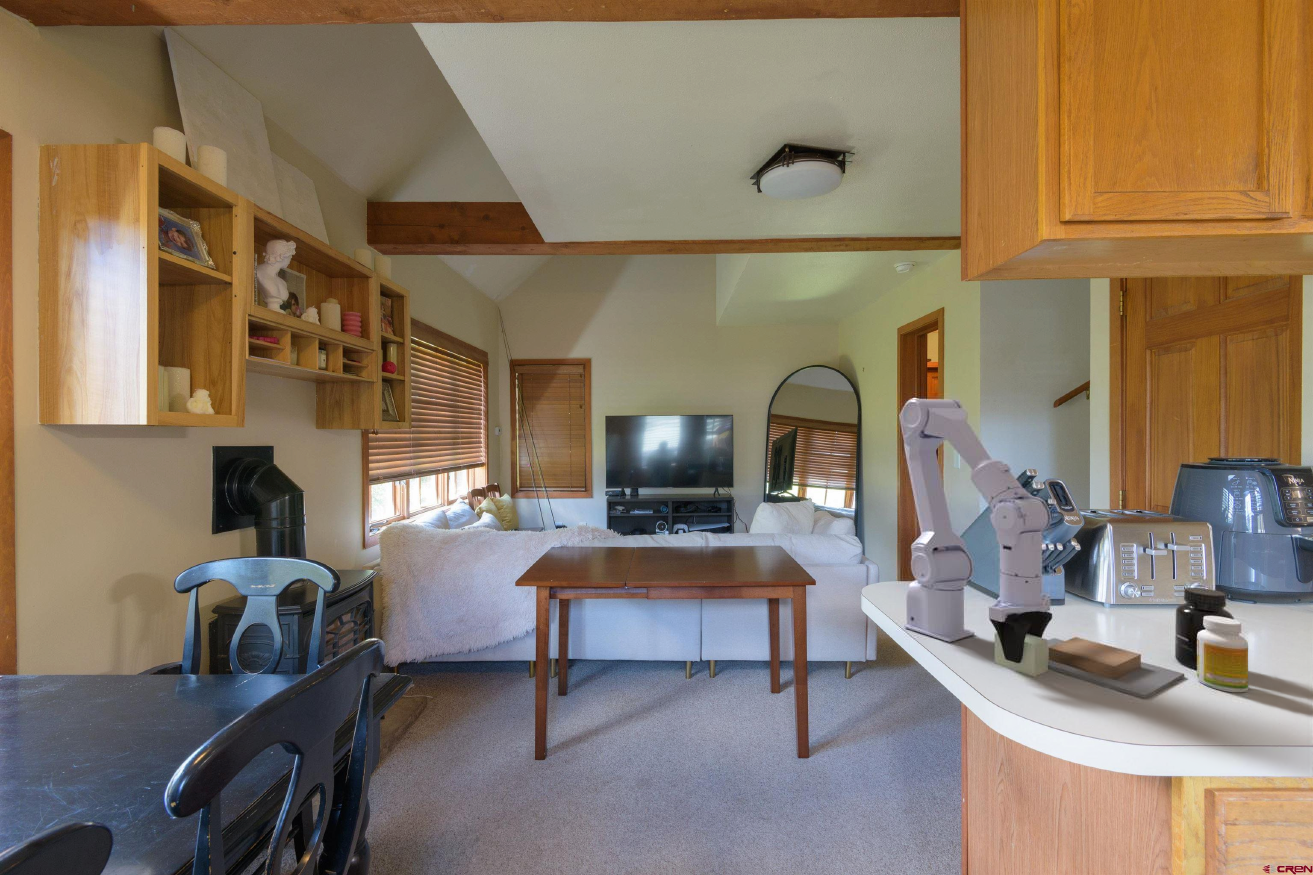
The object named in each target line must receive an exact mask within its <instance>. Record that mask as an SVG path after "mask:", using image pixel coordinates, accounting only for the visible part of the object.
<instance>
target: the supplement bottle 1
mask: <svg viewBox="0 0 1313 875" xmlns="http://www.w3.org/2000/svg"><path fill="white" fill-rule="evenodd" d="M1183 594H1184V595H1183V600H1184V601H1185V603H1182V604H1180V605H1178V606H1177V607H1176V609H1175V625H1174V626H1175V630H1174V631H1175V636H1174V639H1175V640H1174V641H1175V643H1174V646H1175V647H1174V652H1175V654H1174V656H1175V660H1176V661H1177V662H1178V664H1181V665H1183V666H1185V667H1187V668H1190V669H1193V670H1195V671H1197V634H1198V632H1200V631H1202V630H1206V628H1205V627H1204V625H1203V618H1204V616H1219V617H1225V618H1230V619H1233V620H1235V617H1234V615H1233V614H1232V613H1231V612H1229V611H1228V610H1226V609H1225V607H1227V602H1226V600H1227V599H1226V596H1227V595H1226V594H1225V593H1224V592H1222V591H1218V590H1215V589H1210V588H1203V587H1186V588H1184V590H1183Z"/></svg>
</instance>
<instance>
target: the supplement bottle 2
mask: <svg viewBox="0 0 1313 875" xmlns="http://www.w3.org/2000/svg"><path fill="white" fill-rule="evenodd" d="M1203 625H1204V627H1205V628H1206V630H1202V631H1200V632H1198V634H1197V670H1196V675H1197V680H1198V682H1200V684H1202V685H1203V686H1207V687H1208V688H1212V689H1215V690H1220V691H1222V692H1227V693H1246V692H1248V691H1249V644H1248V642H1249V641H1248V640H1246V638H1244V637H1243V636H1241V635H1240V634H1241V633H1242V622H1240V621H1239V620H1236V619H1234V620H1233V619H1230V618H1225V617H1219V616H1204V618H1203Z"/></svg>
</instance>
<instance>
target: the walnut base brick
mask: <svg viewBox="0 0 1313 875" xmlns="http://www.w3.org/2000/svg"><path fill="white" fill-rule="evenodd" d="M1063 641H1064V642H1061V643H1059V644H1056V645H1054V646H1051V647H1049V660H1052V661H1055V662H1058V663H1061V664H1065V665H1068V666H1071V667H1074V668H1078V669H1081V670H1084V671H1087V672H1091V673H1094V674H1097V675H1101V676H1104V677H1107V678H1110V679H1114V680H1115V679H1117V678H1120V677H1122V676H1124V675H1126V674H1128V673H1130V672H1132V671H1134V670H1136V669H1138V668H1140V667H1141V662H1142V654H1141V653H1137V652H1134V651H1130V650H1126V649H1123V648H1120V647H1119V648H1118V647H1115V646H1110V645H1108V644H1104V643H1099V642H1096V641H1092V640H1088V639H1085V638H1080V637H1077V636H1076V637H1075V636H1074V637H1071V638H1070V639H1069V638H1068V639H1067V640H1063Z"/></svg>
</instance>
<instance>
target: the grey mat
mask: <svg viewBox="0 0 1313 875" xmlns="http://www.w3.org/2000/svg"><path fill="white" fill-rule="evenodd" d="M1047 640H1048V670H1049V669H1050V670H1053V671H1055V672H1059V673H1062V674H1065V675H1068V676H1070V677H1074V678H1077V679H1081V680H1084V681H1088V682H1090V683H1094V684H1097V685H1099V686H1103V687H1106V688H1108V689H1112V690H1115V689H1116V690H1115V691H1118V692H1122V693H1125V694H1128V695H1130V696H1134V697H1137V698H1139V699H1143V700H1146V699H1148V698H1150V697H1152V696H1153V695H1155V694H1157V693H1159V692H1160V691H1163V689H1165V688H1167V687H1169V686H1171V685H1173V684H1175V683H1176V682H1178V681H1180V680H1181V679H1183V678H1185V673H1183V672H1179V671H1176V670H1172V669H1168V668H1165V667H1161V666H1158V665H1154V664H1152V663H1147V662H1144V661H1141V667H1140V668H1138V669H1136V670H1134V671H1132V672H1130V673H1128V674H1126V675H1124V676H1122V677H1120V678H1117V679H1115V680H1114V679H1110V678H1107V677H1104V676H1101V675H1097V674H1094V673H1091V672H1087V671H1084V670H1081V669H1078V668H1074V667H1071V666H1068V665H1065V664H1061V663H1058V662H1055V661H1052V660H1049V647H1051V646H1054V645H1056V644H1059V643H1061V642H1064V641H1065V640H1063V639H1059V638H1056V637H1052V638H1050V639H1047Z"/></svg>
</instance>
